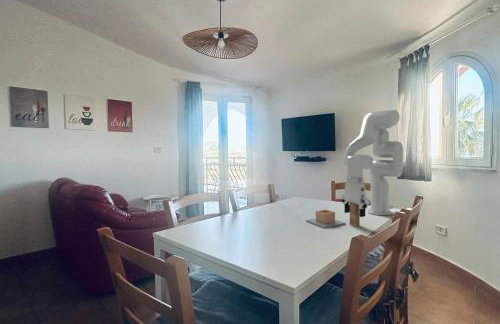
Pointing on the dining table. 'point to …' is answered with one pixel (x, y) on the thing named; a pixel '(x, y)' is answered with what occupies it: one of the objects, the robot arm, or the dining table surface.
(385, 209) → the robot arm
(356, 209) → the stick
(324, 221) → the square socket base
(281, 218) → the dining table surface
